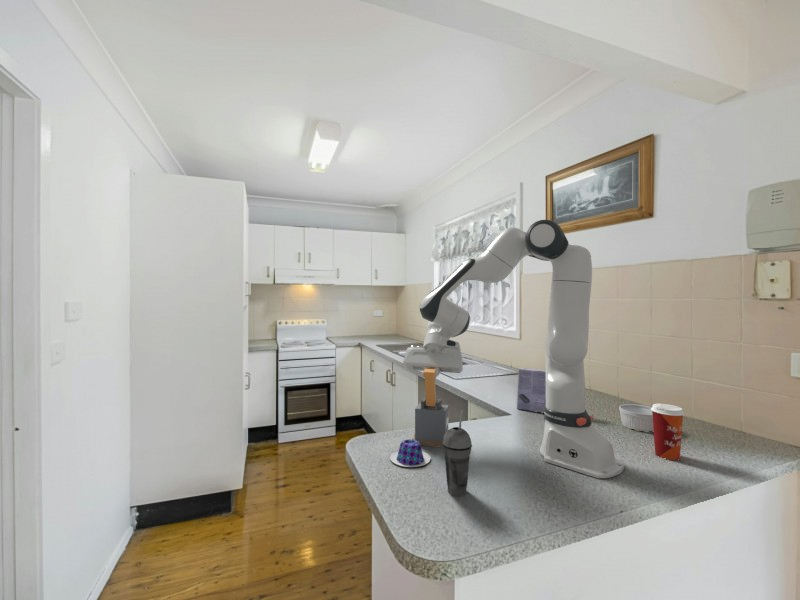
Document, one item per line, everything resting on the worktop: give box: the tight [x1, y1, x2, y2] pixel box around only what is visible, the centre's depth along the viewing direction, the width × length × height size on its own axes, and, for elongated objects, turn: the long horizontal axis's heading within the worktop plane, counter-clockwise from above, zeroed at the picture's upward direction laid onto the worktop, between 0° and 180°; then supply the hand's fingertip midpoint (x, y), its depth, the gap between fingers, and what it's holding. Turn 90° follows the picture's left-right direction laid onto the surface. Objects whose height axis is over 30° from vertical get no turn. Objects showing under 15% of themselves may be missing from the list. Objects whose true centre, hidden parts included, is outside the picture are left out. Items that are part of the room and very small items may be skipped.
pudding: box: [389, 438, 432, 468], centre depth 107 cm, size 12×12×5 cm
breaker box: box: [411, 397, 450, 448], centre depth 121 cm, size 8×12×14 cm, turn 74°
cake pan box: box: [516, 367, 546, 414], centre depth 153 cm, size 19×5×18 cm, turn 58°
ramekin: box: [618, 403, 653, 432], centre depth 134 cm, size 13×13×7 cm
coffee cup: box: [651, 403, 685, 461], centre depth 109 cm, size 8×8×15 cm
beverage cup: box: [442, 409, 473, 497], centre depth 89 cm, size 7×7×20 cm
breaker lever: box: [422, 369, 437, 408], centre depth 118 cm, size 2×4×13 cm, turn 74°
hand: (429, 380), depth 118 cm, fingers closed, pressing on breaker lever
